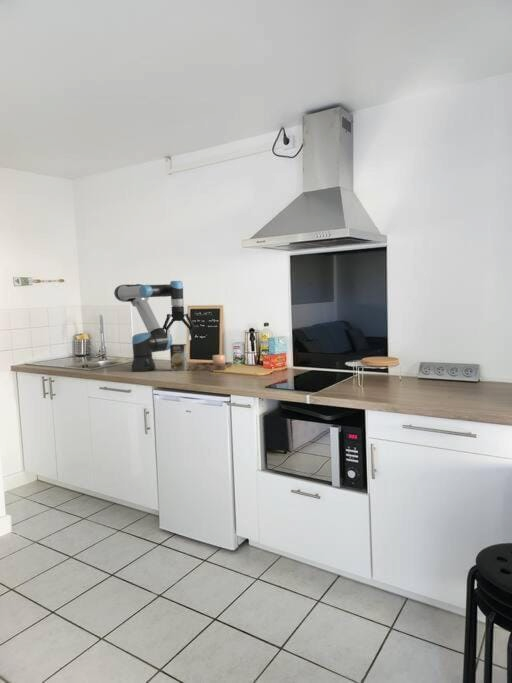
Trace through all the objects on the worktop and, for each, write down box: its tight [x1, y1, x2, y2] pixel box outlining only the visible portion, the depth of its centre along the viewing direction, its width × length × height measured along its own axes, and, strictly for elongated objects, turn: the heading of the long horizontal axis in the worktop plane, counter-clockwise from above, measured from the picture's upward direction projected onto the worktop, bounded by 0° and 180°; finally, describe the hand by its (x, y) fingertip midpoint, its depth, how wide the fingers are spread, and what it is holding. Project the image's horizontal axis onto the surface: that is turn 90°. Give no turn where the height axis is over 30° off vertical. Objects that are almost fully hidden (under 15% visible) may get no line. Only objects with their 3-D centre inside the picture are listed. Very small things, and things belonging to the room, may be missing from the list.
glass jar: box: [169, 343, 188, 372], centre depth 302 cm, size 9×6×16 cm
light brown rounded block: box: [212, 354, 226, 366], centre depth 297 cm, size 8×8×8 cm
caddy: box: [187, 361, 233, 371], centre depth 298 cm, size 23×14×4 cm, turn 75°
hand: (179, 340), depth 302 cm, fingers open, 13 cm apart
